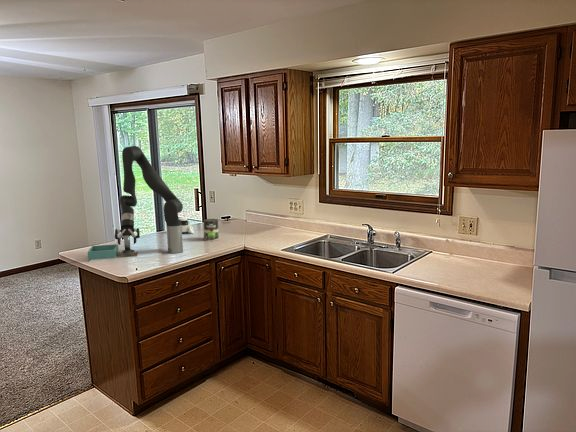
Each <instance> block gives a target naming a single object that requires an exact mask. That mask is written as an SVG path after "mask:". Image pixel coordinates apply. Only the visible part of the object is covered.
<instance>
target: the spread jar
mask: <svg viewBox="0 0 576 432" xmlns="http://www.w3.org/2000/svg"><path fill="white" fill-rule="evenodd" d="M178 218H179V220H181V225H182V235H186V234H189V233H190V234H194V233H195V231H194V230H195V229H194V227H193V225H192V224H189V221H188V217H183V216H181V217H178Z"/></svg>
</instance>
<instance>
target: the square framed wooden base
mask: <svg viewBox="0 0 576 432" xmlns="http://www.w3.org/2000/svg"><path fill="white" fill-rule="evenodd" d="M124 250H125V249H123V250H121V252H118V254H117V256H116V258H117V259H119V258H131V257H137V256H138V255H139V251H135V249H132V252H129V253H124Z"/></svg>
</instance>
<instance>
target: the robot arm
mask: <svg viewBox="0 0 576 432" xmlns="http://www.w3.org/2000/svg"><path fill="white" fill-rule="evenodd" d="M121 156H122V157H121V159H122V166H123V187H122V188H123V189H122V190H123V192H124V193H126V194H130V195H125V194H123V195H121V196H120V198H119V205H120V207H121V219H120V220H121V221H120V229H117V228H116V229H114V239H115V240H117V244H118V246H120V245H121V239H124V235H129V237H132V238H133V245H136V244H137V239H139V238H140V228H139V227H137V228H135V218H134V217H135V210H134V208H133V207H136V206H137V205H138V204H137V203H138V201H137V195H136V176H135V174H134V171H133V163H134V162H136V164H137V165H138V167H140V169H141V174H142V178H143V181H144V182H145V183H146V184H147V186H148V187H149V189H150V190H152V191H153V192H154V193H156V194H158V195H159V196H160V197H161V198H162V199H163V200H164V201H165V203H164V204H163V216H164V221H165V224H166V225H165V226H166V239H167V241H166V242H167V253H168V254H179V253H183V252H184V247H183V246H184V245H183V234H182V225H181V220H179V218H180V217H179V213H181V212H182V211H183V208H184V207H183V203H182V201H181V200H180V199H179V198H178V197H177V196H176V195H175V194H174V192H173V191H171V189H170V188H169V186H168V185H167V183H165V181H164V180H163V179H162V177H161V176H160V174H159V173H158V172H157V170H155V168H154V167H153V165H152V164H151V162H150V161H149V160H148V158H147V156H146V155H145V153H144V152H143V150H142V149H141V148H140V147H139V146H137V145H132V146H131V145H130V146H126V147H124V148H123V149H122V153H121ZM135 233H136V234H135Z"/></svg>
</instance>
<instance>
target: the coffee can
mask: <svg viewBox="0 0 576 432" xmlns="http://www.w3.org/2000/svg"><path fill="white" fill-rule="evenodd" d="M203 235H204V236H203V237H204V238H203V239H204V241H207V242H215V241H218V240H220V238H219V237H220V236H219V219H218V218H207V219H203Z"/></svg>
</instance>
